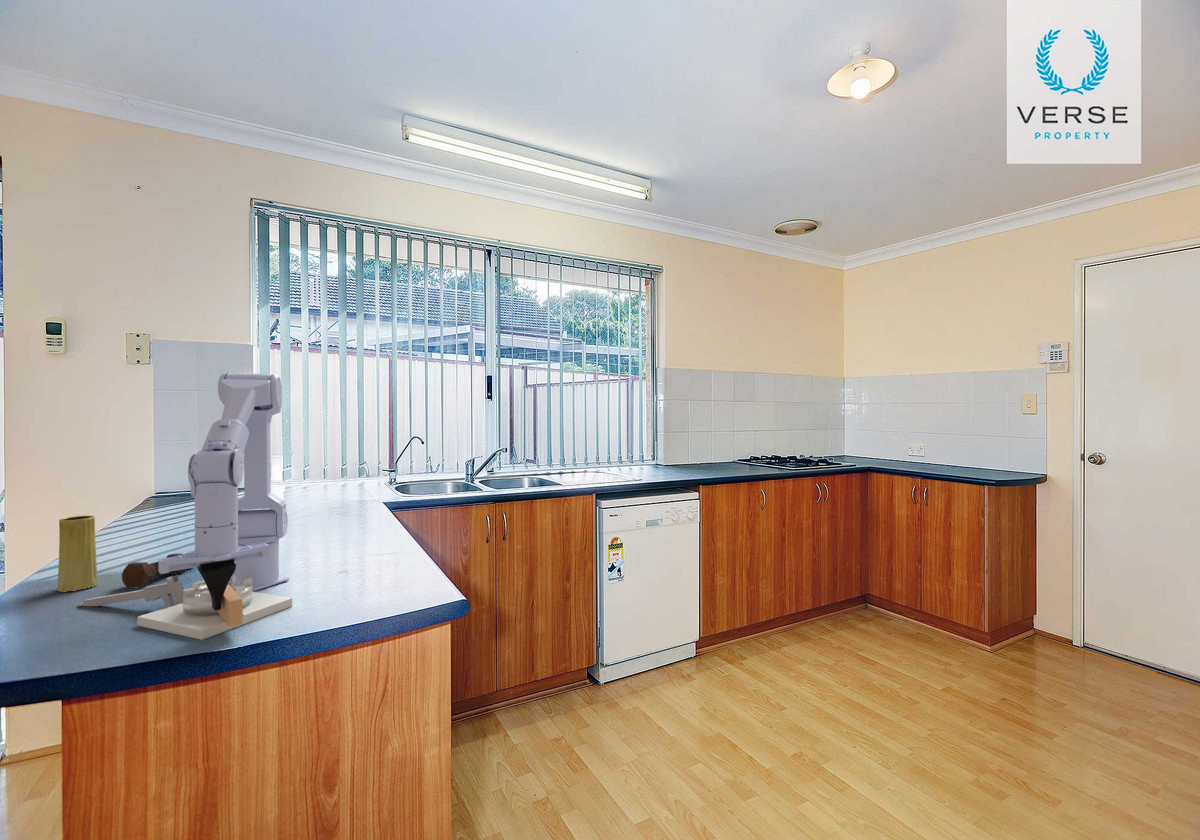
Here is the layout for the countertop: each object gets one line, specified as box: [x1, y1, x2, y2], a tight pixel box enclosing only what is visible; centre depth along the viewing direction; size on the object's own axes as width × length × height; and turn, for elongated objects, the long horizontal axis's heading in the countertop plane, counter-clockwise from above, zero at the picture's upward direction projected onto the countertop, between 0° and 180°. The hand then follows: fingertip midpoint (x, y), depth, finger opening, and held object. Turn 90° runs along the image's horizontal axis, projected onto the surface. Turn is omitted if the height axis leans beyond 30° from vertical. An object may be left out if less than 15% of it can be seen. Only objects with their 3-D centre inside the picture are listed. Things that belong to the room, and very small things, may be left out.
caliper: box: [77, 575, 185, 608], centre depth 99 cm, size 20×1×6 cm, turn 85°
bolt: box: [121, 552, 188, 588], centre depth 118 cm, size 6×5×15 cm
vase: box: [56, 515, 99, 592], centre depth 110 cm, size 6×6×14 cm
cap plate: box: [137, 591, 293, 641], centre depth 95 cm, size 16×16×2 cm
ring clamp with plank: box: [183, 576, 252, 627], centre depth 92 cm, size 18×10×4 cm, turn 45°
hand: (216, 608), depth 88 cm, fingers closed
